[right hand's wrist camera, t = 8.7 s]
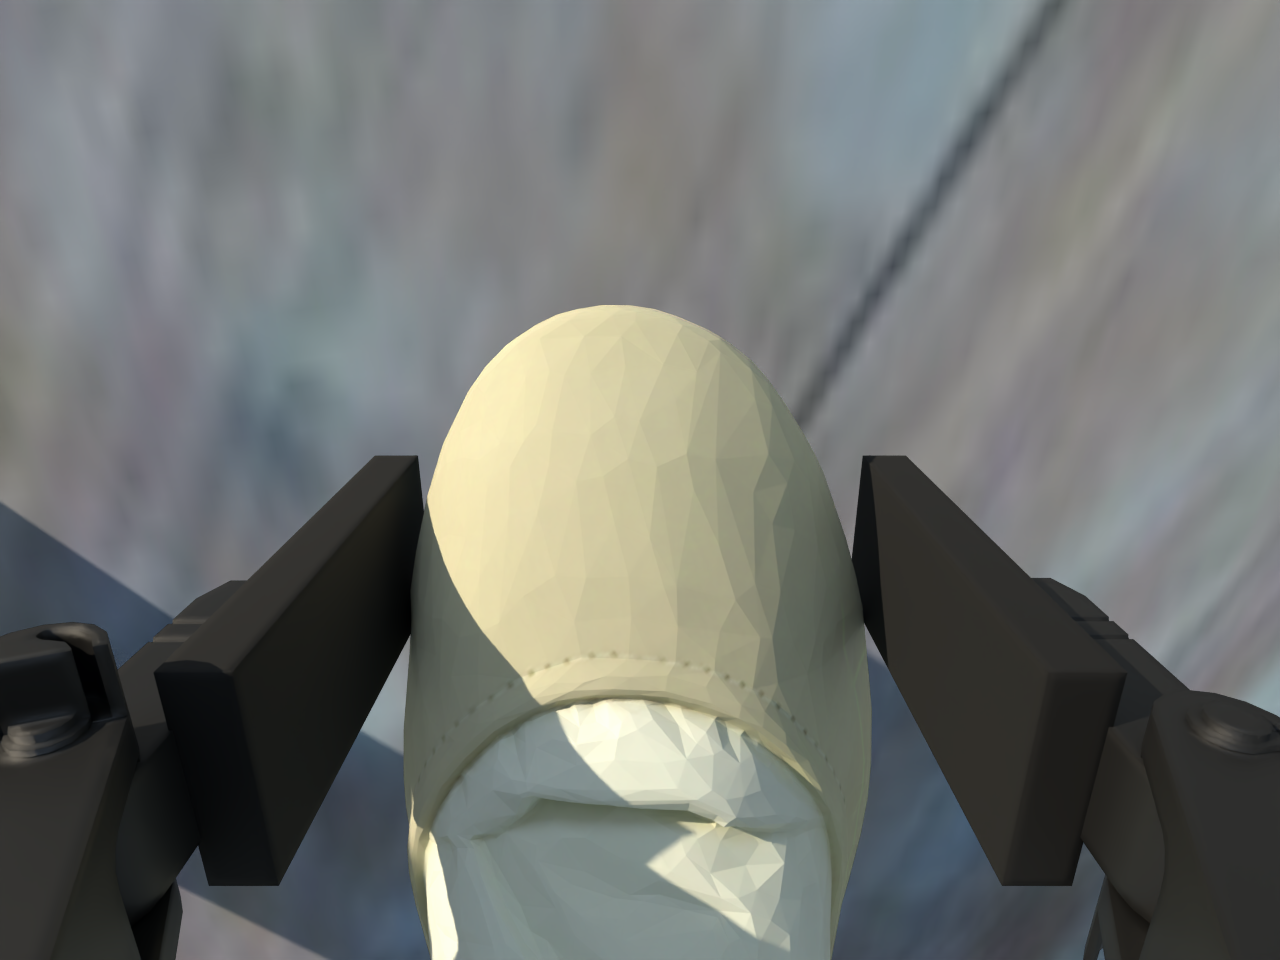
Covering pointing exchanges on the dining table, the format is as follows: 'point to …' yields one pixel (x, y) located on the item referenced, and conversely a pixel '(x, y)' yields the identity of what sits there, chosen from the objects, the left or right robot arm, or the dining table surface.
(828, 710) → the ballet flat
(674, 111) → the dining table surface
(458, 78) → the dining table surface
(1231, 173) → the dining table surface
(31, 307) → the dining table surface
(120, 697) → the right robot arm
